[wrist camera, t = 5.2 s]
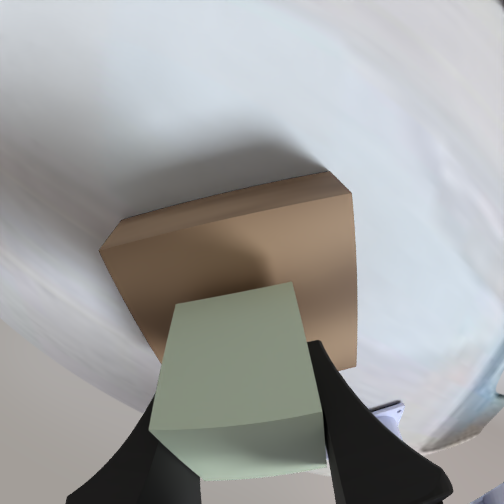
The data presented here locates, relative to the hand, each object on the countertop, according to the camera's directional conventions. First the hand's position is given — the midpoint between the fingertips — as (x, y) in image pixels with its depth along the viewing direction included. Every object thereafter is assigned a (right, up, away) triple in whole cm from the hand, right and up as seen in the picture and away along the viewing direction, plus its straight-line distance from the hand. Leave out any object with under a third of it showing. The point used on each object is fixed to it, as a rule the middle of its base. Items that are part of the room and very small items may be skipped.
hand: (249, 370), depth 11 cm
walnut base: (0, +3, +5) cm, 6 cm away
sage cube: (0, +1, +1) cm, 2 cm away
